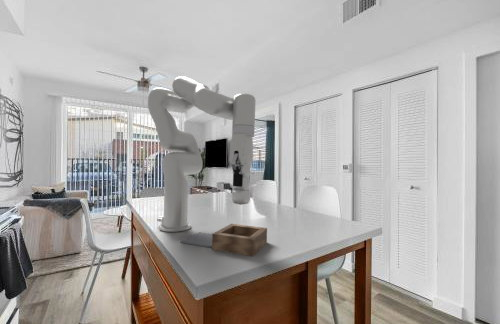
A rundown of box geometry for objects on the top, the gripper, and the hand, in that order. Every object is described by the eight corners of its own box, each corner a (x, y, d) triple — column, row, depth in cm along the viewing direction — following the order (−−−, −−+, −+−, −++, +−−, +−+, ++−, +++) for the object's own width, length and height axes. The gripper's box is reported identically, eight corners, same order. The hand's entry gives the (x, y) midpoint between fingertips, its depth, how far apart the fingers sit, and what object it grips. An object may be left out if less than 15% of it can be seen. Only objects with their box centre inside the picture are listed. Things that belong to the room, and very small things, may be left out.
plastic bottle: (235, 206, 77) (237, 144, 77) (228, 202, 83) (230, 144, 83) (253, 205, 80) (255, 145, 79) (245, 202, 86) (247, 145, 86)
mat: (180, 242, 83) (180, 241, 83) (199, 233, 94) (199, 232, 94) (210, 247, 78) (210, 246, 78) (227, 237, 90) (227, 236, 90)
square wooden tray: (212, 249, 77) (212, 233, 77) (230, 237, 90) (231, 223, 90) (253, 256, 72) (253, 239, 72) (266, 242, 85) (267, 228, 85)
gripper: (242, 134, 91) (241, 183, 91) (221, 128, 75) (219, 187, 75) (261, 134, 88) (260, 184, 88) (243, 128, 72) (241, 188, 72)
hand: (241, 185), depth 81 cm, fingers closed on plastic bottle, 5 cm apart
